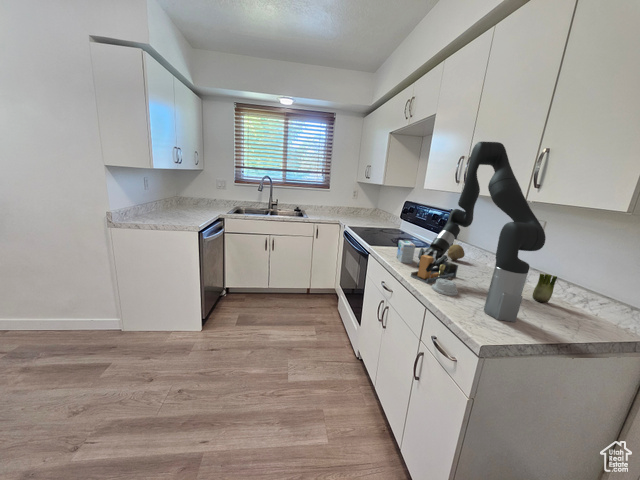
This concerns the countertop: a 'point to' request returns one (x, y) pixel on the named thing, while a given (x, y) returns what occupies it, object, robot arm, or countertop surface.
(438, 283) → the mechanical component
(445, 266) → the keeper
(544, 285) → the fennel bulb
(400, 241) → the light bulb box
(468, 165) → the robot arm
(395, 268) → the countertop surface
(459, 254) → the natural sponge
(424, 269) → the orange block
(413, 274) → the dark grey tray
